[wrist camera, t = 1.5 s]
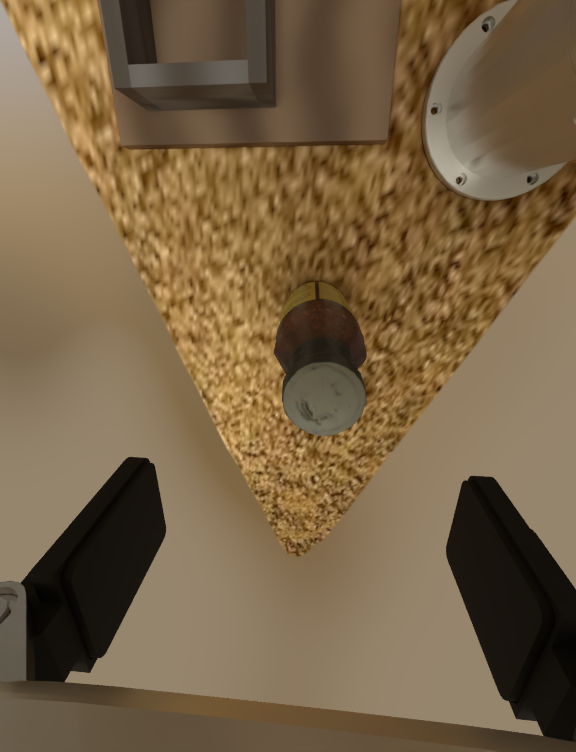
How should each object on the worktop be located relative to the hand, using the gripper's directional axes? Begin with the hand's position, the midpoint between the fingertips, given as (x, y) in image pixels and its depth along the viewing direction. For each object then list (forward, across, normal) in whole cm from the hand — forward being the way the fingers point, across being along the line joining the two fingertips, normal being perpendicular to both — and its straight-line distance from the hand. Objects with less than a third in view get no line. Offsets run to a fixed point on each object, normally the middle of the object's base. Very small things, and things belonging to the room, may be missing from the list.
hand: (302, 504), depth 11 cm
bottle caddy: (+26, +6, -22) cm, 35 cm away
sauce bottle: (+26, 0, 0) cm, 26 cm away
